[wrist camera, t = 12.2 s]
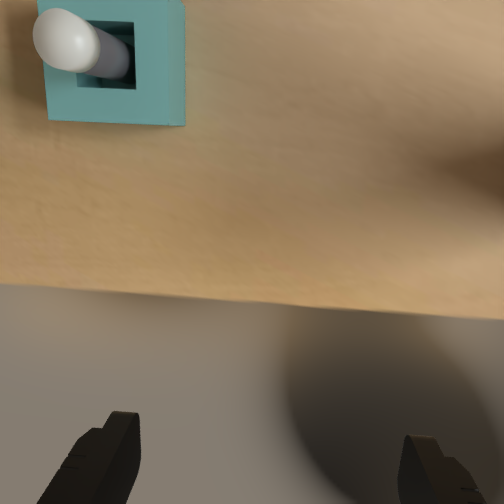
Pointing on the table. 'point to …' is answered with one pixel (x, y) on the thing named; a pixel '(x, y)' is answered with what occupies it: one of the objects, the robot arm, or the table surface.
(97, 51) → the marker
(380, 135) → the table surface
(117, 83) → the socket block
